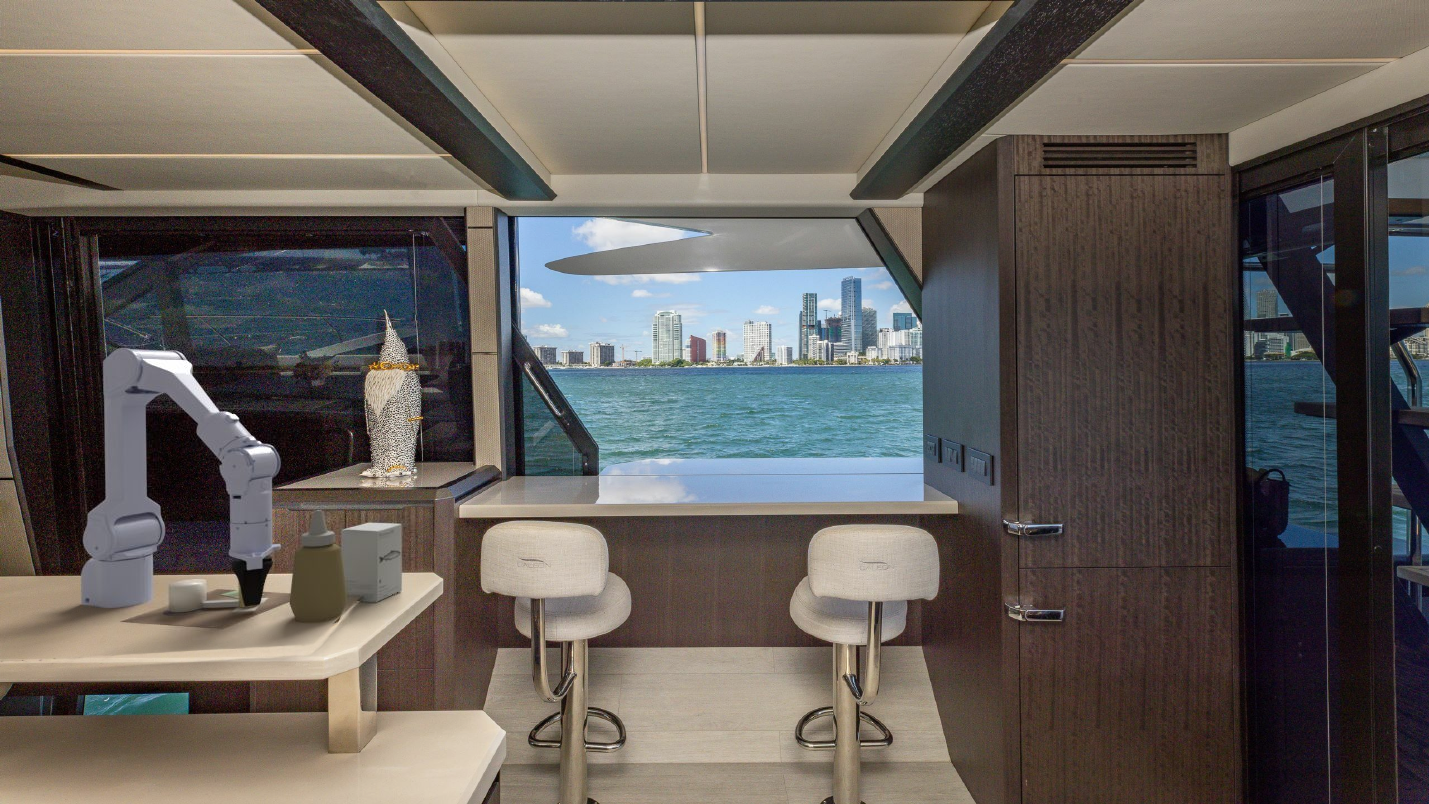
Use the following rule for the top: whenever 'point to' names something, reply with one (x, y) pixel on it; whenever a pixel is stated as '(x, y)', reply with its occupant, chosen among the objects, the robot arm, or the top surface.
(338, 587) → the squeeze bottle
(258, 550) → the robot arm
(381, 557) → the supplement box
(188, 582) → the peg lever
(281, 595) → the brown flat square board
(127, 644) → the top surface
